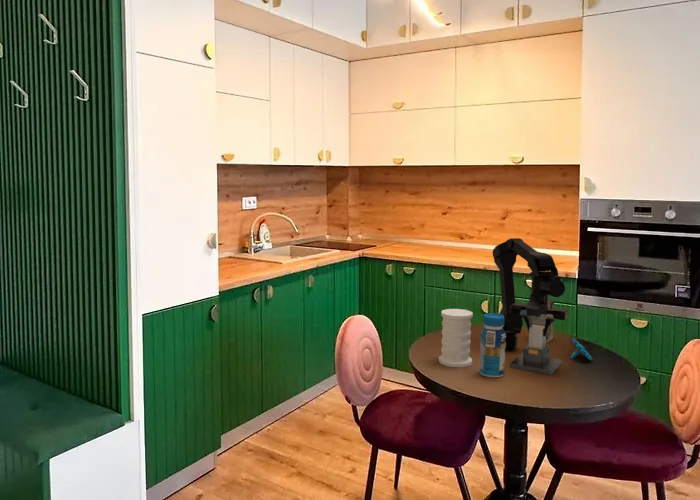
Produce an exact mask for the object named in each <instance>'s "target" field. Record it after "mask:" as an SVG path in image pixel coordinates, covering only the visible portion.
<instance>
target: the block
mask: <svg viewBox="0 0 700 500" xmlns="http://www.w3.org/2000/svg"><path fill="white" fill-rule="evenodd" d="M544 329H545V326H539V325H532V326H531V327H529V331H528V344H529V345H528V344H527V345H528V348H529V349H535V350H541V351H543V350H544V349H545V348H546V346H547V343H546V336H545V337H544Z"/></svg>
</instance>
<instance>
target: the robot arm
mask: <svg viewBox="0 0 700 500" xmlns="http://www.w3.org/2000/svg"><path fill="white" fill-rule="evenodd" d="M492 256H493V261H494V264H495V266H496V267H497V269H498V270H499V279H500V280H499V282H500V283H499V284H500V293H501V309H500V312H499V313H498V314H501V315H503V316H504V318H505V319H504V326H503V327H502V328H503V329H504V331H505V334H506V338H505V342H506V347H505V352H514V351H515V350H516V349H518V338H519V337H518V336H517V334H521V332H522V329H523V325H524V324H523V322H525V325H526V327H527V331H528V332H529V327H531V326H532V316H535V317H540V316H541V314H545V315H547V316H548V317H547V318H546V319H545V329H544V337H545V336H546V334H547V332H548V330H549V328H550V326H551V324H552V322H553V323H554V322H555V321H557V320H559V321H565V320H567V319H568V318H569V310H568V309H567V308H561V307H556V308H554V310H549V309H548V299H549V296H550V297H554V298H560V297H561V296H563V294H564V293H565V291H566V286H565V283H564V281H563V280H561V276H560V275H559V273H558V272H559V269H558V268H557V267H556V263H555V260H554V258H553V256H552V255H551V254H549V253H545V252H540V251H537V250H536V249H534V247H531V246H530V245H529V244H528V243H526V242H524V240H523V239H522V238H519V237H517V238H515V237H514V238H512V237H511V238H508V239H507V240H506V241H504V242H502V243H500V244H497V245H495V247H494V248H493V250H492ZM517 256H519V257H520V258H522V259H523V260H524V261H526V262H527V267H528V268H529V269H530V270H531V272H529V274H528V275H529V277H531V287H530V288H531V289H530V296H529V300H528V302H527V303H523V302H516V294H515V293H516V292H515V282H514V271H513V270H514V266H515V264H516V262H517Z"/></svg>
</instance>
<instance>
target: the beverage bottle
mask: <svg viewBox="0 0 700 500" xmlns="http://www.w3.org/2000/svg"><path fill="white" fill-rule="evenodd" d="M504 319H505V318H504V316H503V315H501V314H499V313H492V312H491V313H485V314H484V315H483V321H482V322H483V326H484V327H483V328H482V330H481V332H480V338H481V339H480V340H479V346H480V347H479V368H478V369H479V370H478V371H479V373H480V375H482V376H484V377H487V378H500V377H503V376H504V375H505V362H506V361H505V360H506V351H505V347H506V342H505V338H506V334H505V331H504V329H503V328H502V327H503V326H504Z"/></svg>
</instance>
